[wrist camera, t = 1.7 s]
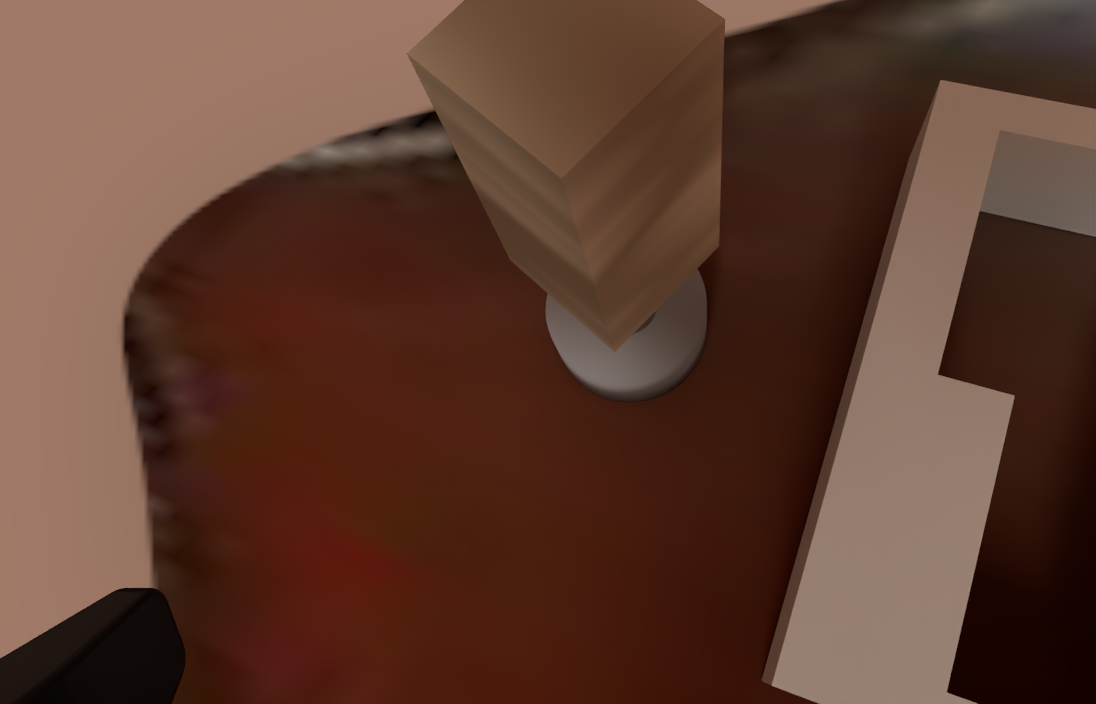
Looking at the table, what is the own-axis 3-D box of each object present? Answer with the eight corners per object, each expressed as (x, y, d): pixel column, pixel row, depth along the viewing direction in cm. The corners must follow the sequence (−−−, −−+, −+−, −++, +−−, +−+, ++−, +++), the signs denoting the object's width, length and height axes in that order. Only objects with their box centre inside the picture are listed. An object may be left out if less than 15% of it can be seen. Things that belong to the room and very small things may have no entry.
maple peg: (634, 433, 23) (561, 217, 12) (527, 335, 24) (369, 57, 13) (739, 323, 23) (766, 14, 12) (628, 233, 25) (561, -120, 13)
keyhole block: (1199, 846, 18) (1311, 889, 15) (761, 681, 20) (772, 685, 17) (1291, 242, 22) (1398, 166, 18) (908, 160, 24) (940, 79, 21)
